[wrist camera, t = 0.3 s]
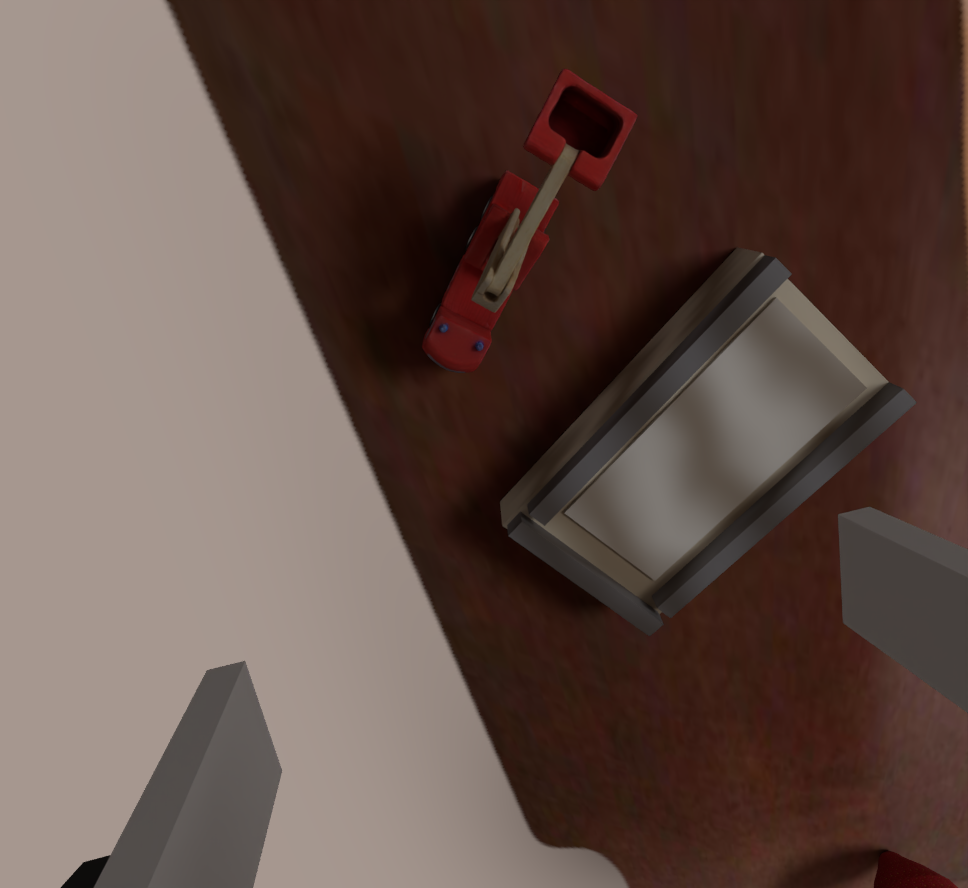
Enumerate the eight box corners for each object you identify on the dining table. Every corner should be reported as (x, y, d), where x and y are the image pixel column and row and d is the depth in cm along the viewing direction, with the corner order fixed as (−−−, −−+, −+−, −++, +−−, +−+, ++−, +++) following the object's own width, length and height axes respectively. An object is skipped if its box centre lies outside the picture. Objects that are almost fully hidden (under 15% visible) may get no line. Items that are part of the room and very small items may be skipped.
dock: (736, 247, 33) (773, 254, 29) (870, 381, 36) (919, 404, 32) (499, 501, 38) (503, 536, 34) (632, 598, 41) (649, 640, 38)
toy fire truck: (418, 341, 34) (400, 394, 25) (537, 98, 30) (566, 58, 21) (470, 367, 35) (471, 428, 26) (594, 134, 30) (647, 110, 22)
